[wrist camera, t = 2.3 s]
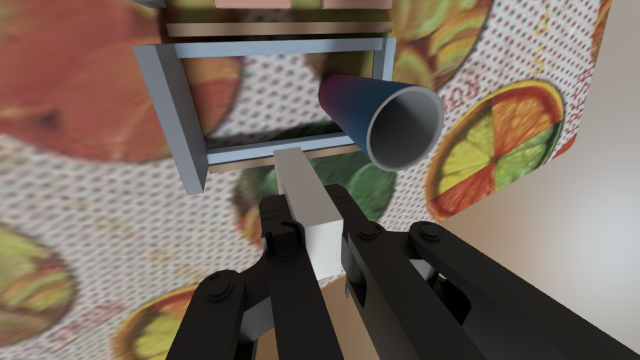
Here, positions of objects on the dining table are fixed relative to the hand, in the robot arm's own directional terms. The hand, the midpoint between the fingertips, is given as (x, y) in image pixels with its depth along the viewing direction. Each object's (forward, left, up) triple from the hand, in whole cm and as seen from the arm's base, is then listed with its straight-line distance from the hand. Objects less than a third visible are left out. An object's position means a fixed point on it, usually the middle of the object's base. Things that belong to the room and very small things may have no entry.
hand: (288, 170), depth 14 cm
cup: (+10, 0, -18) cm, 20 cm away
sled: (+4, 0, -18) cm, 18 cm away
